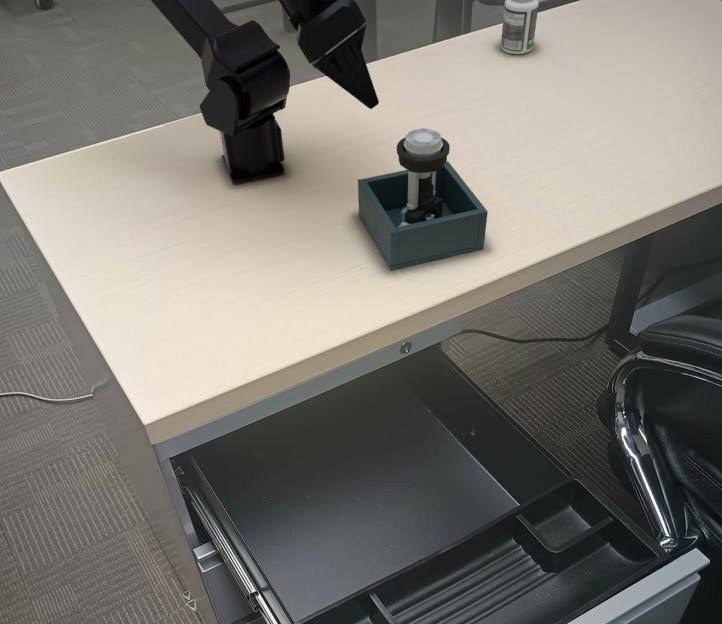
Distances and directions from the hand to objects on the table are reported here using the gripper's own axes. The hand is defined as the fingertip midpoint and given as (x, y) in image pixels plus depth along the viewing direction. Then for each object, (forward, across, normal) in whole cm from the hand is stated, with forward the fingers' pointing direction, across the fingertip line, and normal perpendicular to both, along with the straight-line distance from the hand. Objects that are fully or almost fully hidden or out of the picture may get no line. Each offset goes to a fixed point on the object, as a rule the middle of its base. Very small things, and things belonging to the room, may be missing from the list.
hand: (369, 96), depth 80 cm
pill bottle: (+15, +37, -21) cm, 45 cm away
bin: (+13, -5, +3) cm, 15 cm away
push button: (+13, -5, +3) cm, 14 cm away
